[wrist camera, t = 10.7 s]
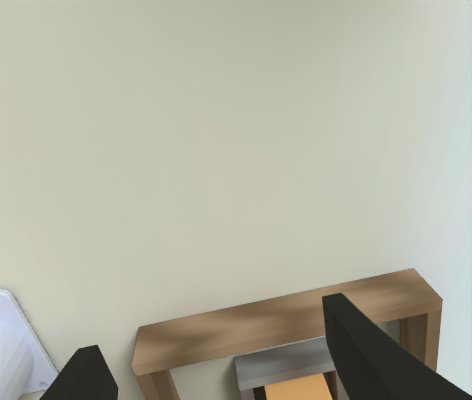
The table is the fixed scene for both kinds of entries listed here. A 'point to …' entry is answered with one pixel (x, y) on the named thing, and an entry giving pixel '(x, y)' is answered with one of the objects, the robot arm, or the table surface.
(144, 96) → the table surface
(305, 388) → the block
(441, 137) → the table surface
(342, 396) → the walled box
